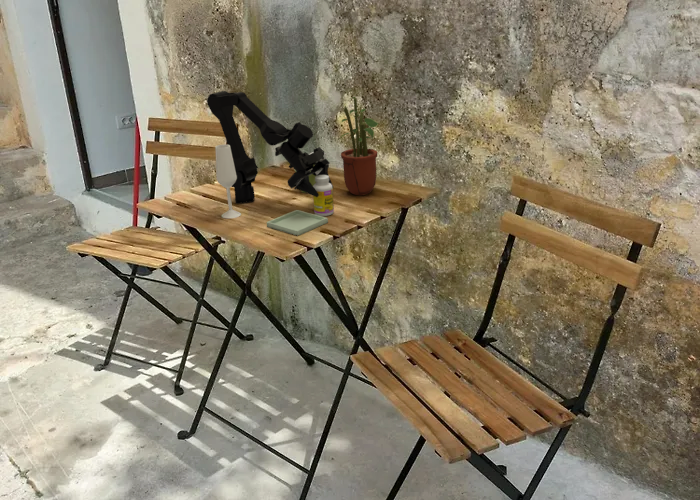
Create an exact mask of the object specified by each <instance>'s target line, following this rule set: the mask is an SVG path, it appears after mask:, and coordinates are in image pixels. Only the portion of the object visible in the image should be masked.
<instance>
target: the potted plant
mask: <svg viewBox="0 0 700 500" xmlns="http://www.w3.org/2000/svg"><path fill="white" fill-rule="evenodd" d="M352 99H353V108H354V109H351V110H350V111H349V110H348V107H347V106H346V105H344V108H343V112H344V114H345V117H346V118H343V119H341V123H343V122H346V121H347V124H348V128H349V132H345V133H344V134H343V135H342V136H340V137H338V140H340V139H341V138H342V137H343V136H346V135H349V134H350V137H351V143H352V144H351V145H352V148H351V149H347V150H343V151H342V152H341V153H340V157H341V159H342V162H343V163H342V164H343V165H342V166H343V179H344V184H345V187H346V189H347V190H348V192H350V194H353V195H355V196H365V195H368V194H369V193H371V192H372V191H373V190H374V188H375V186H376V181H377V157H378V151H377V150H376V149H372V148H368V141H367V139H371V140H374V135H375V131H374V130H373V129H372V128H375V127H377V126H378V125H379V123H378V122H377V121H376V120H374V119H373V118H371V117H370V118H369V117H368V118H367V117H365V118H364V112H365V111H366V108H362V109H361V110H360V111H359V112H360V114H358V101H357V97H356V96H354V97H351V98H350V99H348V100H347V101H346V103H348V101H350V100H352ZM352 113H354V116H352V118H354V128H353V125H352V120H351V116H350V114H352ZM366 125H367V126H368V127H366ZM367 133H368V134H369V136H367ZM334 145H337V143H335V144H334Z"/></svg>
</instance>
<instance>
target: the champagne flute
mask: <svg viewBox="0 0 700 500" xmlns="http://www.w3.org/2000/svg"><path fill="white" fill-rule="evenodd" d="M214 149H215V170H216V172H215V173H216V174H215V176H216V182H217V183H218V184H219V185H220V186H222V187H223V188H225V189H226V197H227V204H228V205H227V207H228V210H227V211H226V212H224V213H222V214H221V218H223V219H237V218H238V217H240V216H241V215H242V213H241V212H239V211H237V210H235V209H233V205H232V195H231V194H232V193H231V189H230V188H233V187H232V185H233V184H234V183H235V182H236V179H237V176H236V171H235V166H234V162H233V157H232V153H231V148H230V145H228V144H218V145H215V148H214Z"/></svg>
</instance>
